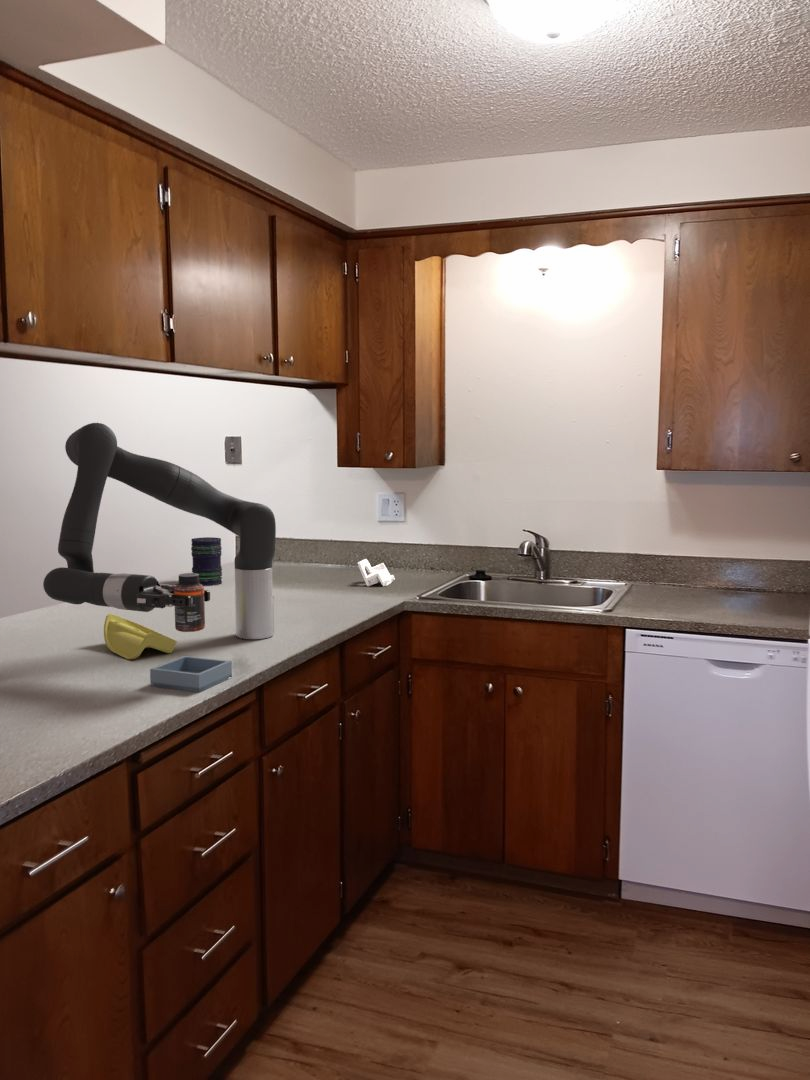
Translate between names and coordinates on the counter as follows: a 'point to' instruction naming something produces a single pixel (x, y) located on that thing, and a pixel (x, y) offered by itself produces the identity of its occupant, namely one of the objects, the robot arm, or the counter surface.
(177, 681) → the parts tray
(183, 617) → the supplement bottle
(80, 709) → the counter surface
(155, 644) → the plastic component
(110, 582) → the robot arm
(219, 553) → the storage jar
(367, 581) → the mounting bracket
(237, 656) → the counter surface
